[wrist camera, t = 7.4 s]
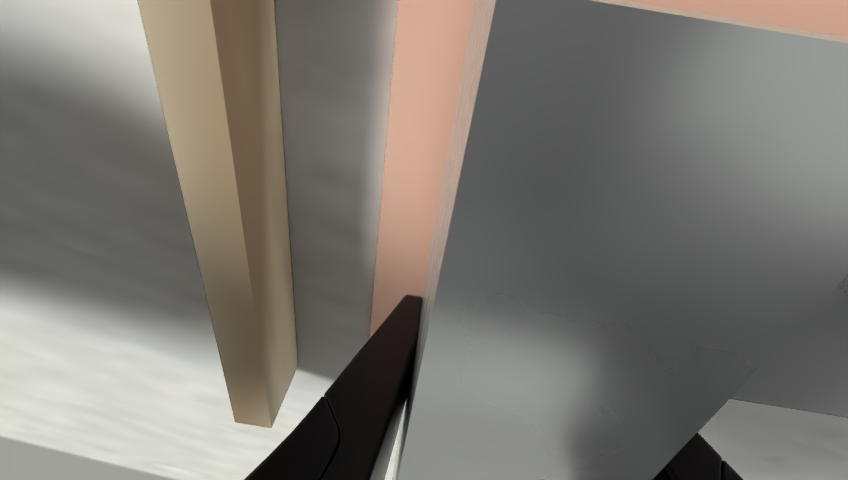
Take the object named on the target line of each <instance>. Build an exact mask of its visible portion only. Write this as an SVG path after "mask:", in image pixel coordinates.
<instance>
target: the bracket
mask: <svg viewBox="0 0 848 480" xmlns="http://www.w3.org/2000/svg"><path fill="white" fill-rule="evenodd" d="M421 297H422V306H421V315H420V323H419V331H418V339H417V345H416V351H415V356H414V361H413V367H412V372H411V377H410V383H409V388H408V393H407V399H406V403H405V406H404V410H403V414H402V417H401V422H400V429H399V436H398V443H397V450H396V457H395V464H394V471H393V478H392V480H652V479H653V478H654V477H655V476H656V475H657V474H658V473H659V472H660V471H661V470H662V469H663V468H664V467H665V466H666V465H667V464H668V463H669V461H670V460H671V459H672V458H673V457H674V456H675V455H676V454H677V453H678V452H679V451H680V450H681V449H682V448H683V447H684V446H685V445H686V444H687V443H688V441H689V440H690V439H691V438H692V437H693V436H694V435H695V434H696V433H697V432H698V431H699V430H700V429H701V428H702V427H703V426H704V425H705V424H706V423H707V422H708V420H709V419H710V418H711V417H712V416H713V415H714V414H715V413H716V412H717V411H718V410H719V409H720V408H721V407H722V406H723V405H724V404H725V403H726V402H727V401H728V399H735V400H741V401H748V402H754V403H760V404H766V405H772V406H779V407H785V408H791V409H797V410H803V411H810V412H816V413H822V414H828V415H835V416H841V417H847V418H848V37H845V36H839V35H833V34H827V33H821V32H815V31H809V30H803V29H797V28H791V27H785V26H779V25H773V24H767V23H761V22H755V21H750V20H744V19H738V18H732V17H726V16H720V15H714V14H708V13H702V12H696V11H690V10H684V9H678V8H672V7H666V6H660V5H654V4H648V3H642V2H636V1H630V0H474V3H473V8H472V14H471V20H470V25H469V31H468V36H467V42H466V48H465V53H464V59H463V64H462V70H461V75H460V81H459V87H458V92H457V98H456V103H455V109H454V115H453V120H452V126H451V131H450V137H449V142H448V148H447V154H446V159H445V165H444V170H443V176H442V182H441V187H440V193H439V198H438V204H437V209H436V215H435V221H434V226H433V232H432V237H431V243H430V249H429V254H428V260H427V265H426V271H425V277H424V282H423V288H422V293H421Z"/></svg>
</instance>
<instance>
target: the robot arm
mask: <svg viewBox="0 0 848 480" xmlns="http://www.w3.org/2000/svg"><path fill="white" fill-rule="evenodd" d="M421 306H422V297H421V296H415V295H409V294H407V295H405V296H404V297H403V298H402V300H401V301H400V302H399V303H398V304H397V306H396V307H395V308H394V309H393V311H392V312H391V313H390V314H389V316H388V317H387V318H386V319H385V320H384V322H383V323H382V324H381V325H380V327H379V328H378V329H377V330H376V331H375V333H374V334H373V335H372V336H371V338H370V339H369V340H368V341H367V342H366V344H365V345H364V346H363V347H362V349H361V350H360V351H359V352H358V353H357V355H356V356H355V357H354V358H353V360H352V361H351V362H350V363H349V365H348V366H347V367H346V368H345V369H344V371H343V372H342V373H341V374H340V376H339V377H338V378H337V379H336V380H335V382H334V383H333V384H332V385H331V387H330V388H329V389H328V390H327V391H326V393H325V394H324V397H321V399H320V400H319V401H318V402H317V403H316V405H315V406H314V407H313V408H312V410H311V411H310V412H309V413H308V414H307V415H306V417H305V418H304V419H303V420H302V421H301V422H300V423H299V425H298V426H297V427H296V428H295V429H294V430H293V431H292V432H291V434H290V435H289V436H288V437H287V438H286V439H285V440H284V441H283V442H282V443H281V444H280V445H279V446H278V447H277V448H276V449H275V450H274V451H273V452H272V453H271V454H270V455H269V456H268V457H267V458H266V459H265V460H264V461H263V462H262V463H261V464H260V465H259V466H258V467H257V468H256V469H254V470H253V471H252V472H251V473H250V474H249V475H248V476H247V477H246V478H245V479H244V480H384V479H385V475H386V471H387V468H388V464H389V461H390V457H391V453H392V450H393V446H394V442H395V439H396V435H397V432H398V428H399V424H400V421H401V417H402V414H403V410H404V406H405V403H406V399H407V393H408V388H409V383H410V377H411V372H412V367H413V361H414V356H415V351H416V345H417V339H418V331H419V323H420V315H421ZM652 480H743V479H742V478H741V477H740V476H739V475H738V474H737V473H736V472H735V471H734V470H733V469H732V468H731V467H730V466H729V464H728V463H727V462H726V461H722V458H721V456H720V455H719V454H718V453H717V452H716V451H715V450H714V449H713V448H712V447H711V446H710V445H709V444H708V443H707V442H706V441H705V440H704V439H703V438H702V437H701V436H700V435H699V433H698V432H697V433H696V434H695V435H694V436H693V437H692V438H691V439H690V440H689V441H688V443H687V444H686V445H685V446H684V447H683V448H682V449H681V450H680V451H679V452H678V453H677V454H676V455H675V456H674V457H673V458H672V459H671V460H670V461H669V463H668V464H667V465H666V466H665V467H664V468H663V469H662V470H661V471H660V472H659V473H658V474H657V475H656V476H655V477H654V478H653V479H652Z"/></svg>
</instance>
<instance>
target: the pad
mask: <svg viewBox="0 0 848 480" xmlns="http://www.w3.org/2000/svg"><path fill="white" fill-rule="evenodd" d="M630 1H636V2H642V3H648V4H654V5H660V6H666V7H672V8H678V9H684V10H690V11H696V12H702V13H708V14H714V15H720V16H726V17H732V18H738V19H744V20H750V21H755V22H761V23H767V24H773V25H779V26H785V27H791V28H797V29H803V30H809V31H815V32H821V33H827V34H833V35H839V36H845V37H848V0H630ZM473 3H474V0H398V9H397V20H396V32H395V44H394V55H393V67H392V79H391V90H390V102H389V114H388V125H387V137H386V149H385V160H384V172H383V184H382V195H381V207H380V219H379V230H378V242H377V254H376V265H375V277H374V289H373V300H372V312H371V324H370V335H369V339H370V338H371V336H372V335H373V334H374V333H375V331H376V330H377V329H378V328H379V327H380V325H381V324H382V323H383V322H384V320H385V319H386V318H387V317H388V316H389V314H390V313H391V312H392V311H393V309H394V308H395V307H396V306H397V304H398V303H399V302H400V301H401V300H402V298H403V297H404V296H405V295H407V294H409V295H415V296H421V293H422V288H423V282H424V277H425V271H426V265H427V260H428V254H429V249H430V243H431V237H432V232H433V226H434V221H435V215H436V209H437V204H438V198H439V193H440V187H441V182H442V176H443V170H444V165H445V159H446V154H447V148H448V142H449V137H450V131H451V126H452V120H453V115H454V109H455V103H456V98H457V92H458V87H459V81H460V75H461V70H462V64H463V59H464V53H465V48H466V42H467V36H468V31H469V25H470V20H471V14H472V8H473Z"/></svg>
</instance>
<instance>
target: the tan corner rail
mask: <svg viewBox="0 0 848 480" xmlns="http://www.w3.org/2000/svg"><path fill="white" fill-rule="evenodd" d="M137 1H138V5H139V10H140V14H141V18H142V23H143V27H144V31H145V35H146V40H147V44H148V48H149V53H150V57H151V61H152V66H153V70H154V74H155V79H156V83H157V87H158V92H159V96H160V100H161V104H162V109H163V113H164V117H165V122H166V126H167V130H168V135H169V139H170V143H171V148H172V152H173V156H174V161H175V165H176V169H177V173H178V178H179V182H180V186H181V191H182V195H183V199H184V204H185V208H186V212H187V217H188V221H189V225H190V230H191V234H192V238H193V242H194V247H195V251H196V255H197V260H198V264H199V268H200V273H201V277H202V281H203V286H204V290H205V294H206V299H207V303H208V307H209V311H210V316H211V320H212V324H213V329H214V333H215V337H216V342H217V346H218V350H219V355H220V359H221V363H222V368H223V372H224V376H225V380H226V385H227V389H228V393H229V398H230V402H231V406H232V411H233V415H234V419H235V422H237V423H243V424H250V425H256V426H262V427H268V428H272V425H273V423H274V421H275V418H276V416H277V414H278V411H279V409H280V407H281V404H282V402H283V400H284V397H285V395H286V393H287V390H288V388H289V386H290V383H291V381H292V378H293V376H294V374H295V371H296V369H297V367H298V360H297V344H296V329H295V314H294V299H293V283H292V268H291V253H290V238H289V222H288V207H287V192H286V177H285V161H284V146H283V131H282V116H281V100H280V85H279V70H278V55H277V39H276V24H275V9H274V0H137Z"/></svg>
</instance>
